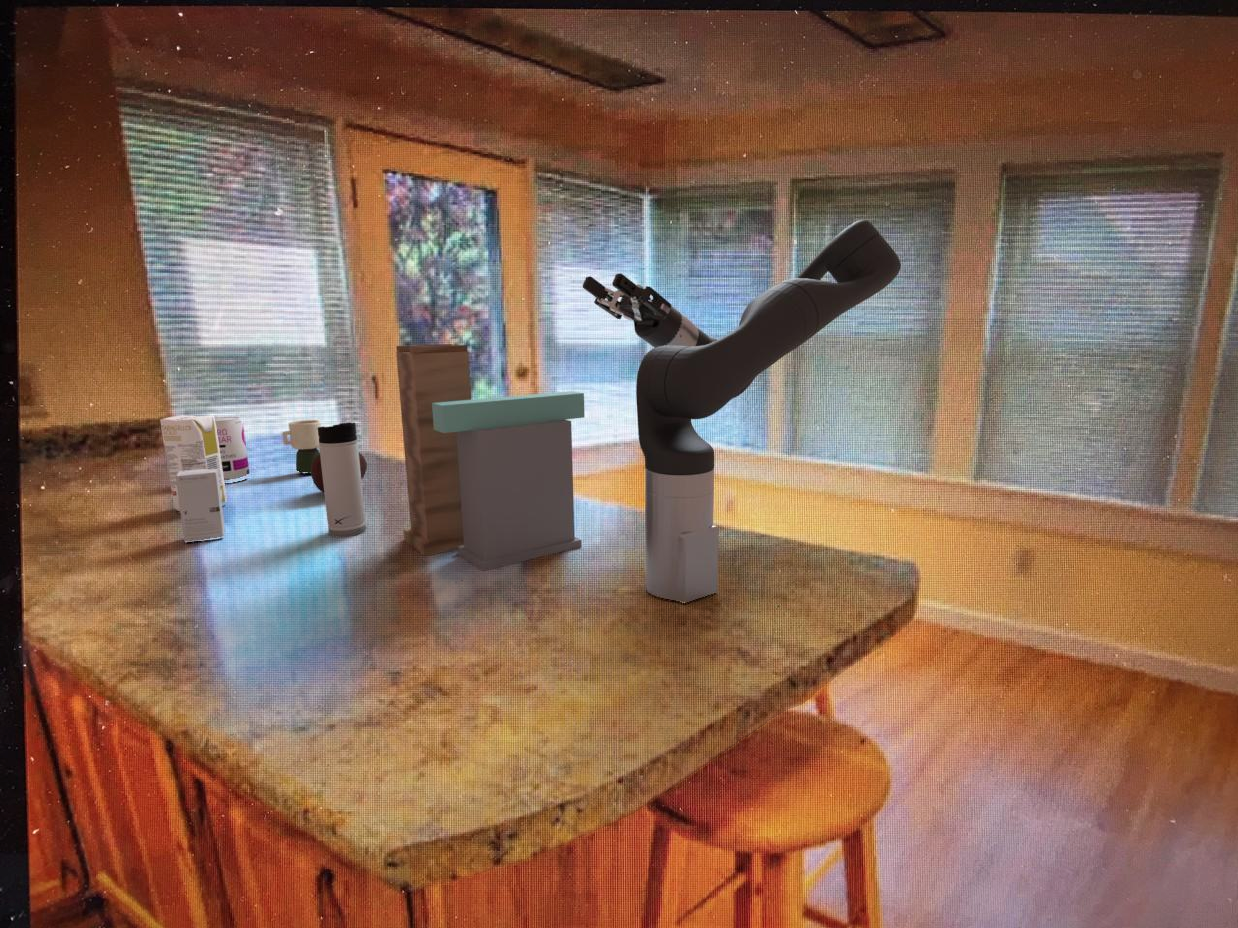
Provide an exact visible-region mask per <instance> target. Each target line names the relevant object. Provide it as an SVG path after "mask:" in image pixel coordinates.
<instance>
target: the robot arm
mask: <svg viewBox="0 0 1238 928" xmlns="http://www.w3.org/2000/svg"><path fill="white" fill-rule="evenodd" d="M901 266H902V263H901V261H900V258H899V255H898V254H897V253H896V251H895V250H894V249H893V248H892V247H891V245H890V244H889V243H888V242H887V240H886V239H885V238H884V237H883V234H880V231H879V230H878V229H877V228H876V227H875V226H874V224H873V223H872V222H870V221H869V220H868V219H860V220H857V221H854V222H853V223H851V224H850V225H848V226H847V227H846V228H843V229H842V231H840V232H839V233H837V234H836V235H835V236H834V237H833V238H832V239H831V240H830V241H829V242H828V243H827V244H826V245H825V246H824V247H823V248H822V249H821V250H820V252H818V254H816V255H815V257H814V258H813V259H812V260H811V262H810V263H809V264H808V265H806V267H805V268H804V269H803V270H802V271H801V272H800V273H799V274H798V276H797V277H795V278H790V279H789V278H788V279H785V280H783V281H780V282H778V283H776V284H775V285H773V286H771V287H770V288H768V289H767V290H765V291H763V292H762V293H760V294H758V295H757V296H756V297H755V298H753V299H752V300H751V301H750V302H749V303H748V304H747V306H746V307H745V309H744V311H743V312H742V315H741V317H740V320H739V324H738V327H737V328H735V329H734V330H733V331H731V332H729V333H728V334H726V335H725V336H722V337H721V338H719V339H717V338H714V337H711V336H708V335H707V334H706V333H705V332H704V331H703V330H701V329H700V328H699V327H697V325H695V324H694V323H693V321H691V320H690V319H689V318H688V317H687V316H686V315H684V314H683V313H682V312H681V311H679V310H678V309H677V308H675V307H674V306H673V305H672V304H671V303H670V302H669V301H668V300H667V299H666V298H664V296H662V295H661V294H660V293H658V292H657V291H656V290H655V289H653V288H652V287H651V286H648V285H647V286H645V288H644V287H643V286H642V284H635V283H634V282H633V281H632V280H630V278H628V277H626V276H625V275H624V274H623V273H616V274H615V276H614V278H613V281H612V283H611V285H612V287H614V288H615V289H616V290H615V291H614V290H612V289H610V288H608V287H606V286H604V284H602V283H600V282H599V281H598V280H596V279H595V278H594V277H592V275H591V276H590V275H589V276H586V277H585V280H584V281H583V283H582V288H583V289H584V290H585V291H586V292H588V293H589V294H591V295H592V296H594V297H595V299H594V301H593V303H594V304H595V305H596V306H598V307H599V308H601V309H603V310H604V311H605V312H606V313H608V314H610V315H611V316H612V317H614V318H615V319H616V320H621V319H622V317H624V319H626V320H628V321H631V322H632V321H633V324H634V328H633V329H634V332H635V335H636V336H638V337H639V338H640V339H642V340H643V341H645V342H646V343H647V344H649V345H650V346H652V347H653V348H652V349H650V350H649V351H648V352H647V353H646V354H645V355H644V357H643V358H642V359H641V362H640V363H639V367H638V371H637V375H636V383H635V384H636V385H635V396H636V398H635V399H636V400H635V401H636V412H637V413H636V414H637V428H638V429H637V430H638V432H637V433H638V441H639V446H640V449H641V452H642V454H643V457H644V486H645V487H644V500H645V501H644V505H645V506H644V508H645V509H644V510H645V511H644V512H645V513H644V515H645V517H644V520H645V521H644V523H645V525H644V526H645V527H644V528H645V531H644V532H645V535H644V536H645V540H644V541H645V542H644V543H645V545H644V547H645V553H644V554H645V590H646V591H647V592H648V593H649V594H650V593H651V594H653V595H655V596H658V597H661V598H666V599H671V600H679V601H681V602H688V601H692V600H695V599H698V598H701V597H704V598H706V597H705V596H707V595H710V596H712V595H711V594H713V595H715V594H714V593H716V594H718V587H719V586H718V585H719V584H718V583H719V582H718V580H719V578H718V577H719V570H718V569H719V526H717V525H714V508H715V507H714V502H715V501H714V494H715V450H714V447H712V445H711V444H710V443H708V442H707V441H706V440H705V439H704V438H702V437H701V436H700V435H699V433H698V432H697V431H696V429H695V428H694V426H693V424H692V420H702V419H706V418H708V417H711V416H713V415H714V414H716V413H717V412H718V411H720V410H721V409H723V407H725V406H726V405H727V404H728V403H729V402H731V401H732V400H733V399H736V398H737V397H739V396H740V395H742V394H743V393H744V392H745V391H746V390H747V389H748V388H749V387H750V385H751V384H752V383H753V381H754V380H755V379H756V377H758V376H759V375H761V373H763V372H764V371H765V370H767V369H769V368H770V367H771V366H772V365H774V364H776V363H777V362H778V361H779V360H780V359H782V358H783V357H785V356H786V355H788V354H789V353H791V352H793V351H794V350H796V349H797V348H799V347H800V346H801V345H803V344H804V343H805V342H807V341H809V340H810V339H811V338H812V337H814V336H815V335H816V334H817V333H819V332H820V331H821V330H823V329H824V328H825V327H826V326H828V325H829V324H831V322H833V321H834V320H836V319H837V318H838V317H840V316H841V315H843V314H844V313H846V312H848V311H849V310H851V309H853V308H855V307H856V306H857V305H860V304H861V303H863V302H865V301H866V300H869V299H870V298H871V297H873V296H874V295H876V294H878V293H879V292H881V291H882V290H884V289H885V288H886V287H887V286H889V284H891V283H892V282H893V281H894V280H895V278H896V277H897V276H898V274H899V272H900V271H901V268H902V267H901ZM827 273H829V274H830V275H831V276H832V278H833V279H834V281H836V282H833V281H832V282H830V281H826V280H822V278H823V277H825V275H826V274H827ZM651 296H652V298H651ZM620 298H621V299H620ZM619 299H620V300H619ZM651 594H650V595H651ZM653 595H652V596H653ZM655 596H654V597H655ZM658 597H657V598H658ZM707 597H708V596H707ZM661 598H660V599H661ZM701 599H702V598H701ZM671 600H670V601H671ZM698 600H699V599H698ZM695 601H696V600H695ZM681 602H680V603H681ZM692 602H693V601H692Z"/></svg>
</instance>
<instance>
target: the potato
mask: <svg viewBox="0 0 1238 928" xmlns="http://www.w3.org/2000/svg"><path fill="white" fill-rule="evenodd" d="M359 461H360V472H361V481H363V479H364V476H365V475H366V472H367V470H368V469H367V467H368V463H367V461H366V458H365V456H364V455H363V454H362V453H360V452H359ZM310 476H311V478H312V481H313V484H314V485H315V486H316V488H317V489H318V490H319V491H320V492H321V493H323V494H324V485H323V476H322V467H321V458H320V453H319V454H318V455H317V456H316V458H315V459H314V460H313V463H312V466H311V473H310Z"/></svg>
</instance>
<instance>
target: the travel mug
mask: <svg viewBox="0 0 1238 928" xmlns="http://www.w3.org/2000/svg"><path fill="white" fill-rule="evenodd" d="M356 425H357V424H356V422H342V423H339V424H333V425H331V426H321V427H318V436H319V445H320V446H319V447H318V449H319V452H320V458H321V467H322V476H323V485H324V493H323V494H324V500H325V502H324V503H325V509H326V519H327V525H328V527H327V529H328V534H329V535H330V536H332V537H336V536H337V537H339V538H345V537H351V536H352V537H353V536H356V535H357V536H358V535H359V534H360V535H361V534H362V533H364V532H365V531H366V529H367V525H366V516H365V515H366V514H365V503H364V493H363V484H362V483H363V482H362V480H361V472H360V461H359V453H360V452H359V444H358V437H357V426H356Z"/></svg>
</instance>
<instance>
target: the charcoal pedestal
mask: <svg viewBox="0 0 1238 928" xmlns="http://www.w3.org/2000/svg"><path fill="white" fill-rule="evenodd" d="M572 432H573V431H572V420H570V419H566V420H557V421H548V422H539V423H530V424H521V425H512V426H503V427H494V428H485V429H476V430H467V431H458V432H457V448H458V463H459V478H460V493H461V508H462V523H463V538H464V545H462V546H457V547H458V549H457V554H458V555H460V556H461V557H462V558H463V559H465V560H466V561H468V562H470V563H471V565H472V564H473V565H474V566H476V567H477V568H478V569H479V570H481V571H482V572H483V571H487V570H488V571H489V570H492V569H496V568H499V567H504V566H509V565H512V564H516V563H520V562H524V561H529V560H532V559H533V560H534V559H537V558H542V557H545V556H550V555H554V554H557V553H561V552H565V551H569V550H574V549H577V548H578V549H579V548H581V547H582V539H580V538H578V537H577V536H575V534H576V533H575V506H574V505H575V504H574V499H575V498H574V473H573V472H574V471H573V441H572V439H573V438H572Z"/></svg>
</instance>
